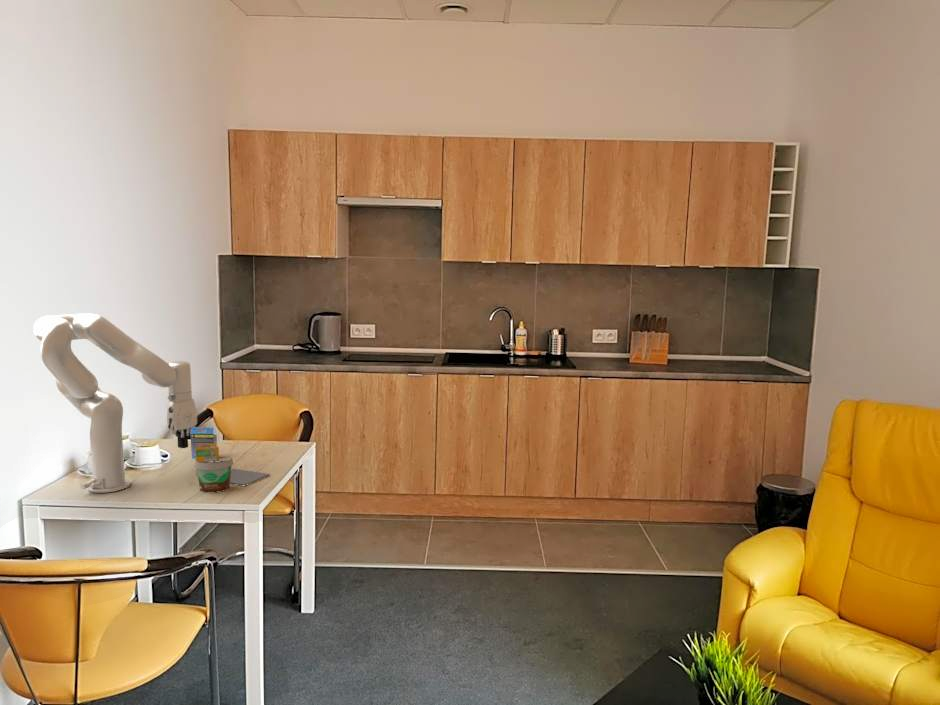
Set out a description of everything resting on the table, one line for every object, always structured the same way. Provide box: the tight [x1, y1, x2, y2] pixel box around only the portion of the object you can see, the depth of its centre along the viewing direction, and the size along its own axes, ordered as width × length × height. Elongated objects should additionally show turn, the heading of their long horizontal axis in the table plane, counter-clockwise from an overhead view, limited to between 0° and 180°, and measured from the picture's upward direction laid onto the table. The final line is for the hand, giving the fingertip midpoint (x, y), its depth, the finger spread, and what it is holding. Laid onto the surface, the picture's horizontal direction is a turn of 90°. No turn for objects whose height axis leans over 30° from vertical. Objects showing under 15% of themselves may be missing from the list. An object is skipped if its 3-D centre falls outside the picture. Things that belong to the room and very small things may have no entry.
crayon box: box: [195, 443, 220, 477], centre depth 261 cm, size 7×3×12 cm, turn 94°
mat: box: [230, 468, 271, 487], centre depth 258 cm, size 13×16×1 cm
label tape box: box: [189, 426, 218, 459], centre depth 282 cm, size 9×4×12 cm, turn 89°
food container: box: [193, 457, 234, 493], centre depth 244 cm, size 12×6×10 cm, turn 106°
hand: (183, 447), depth 265 cm, fingers closed
